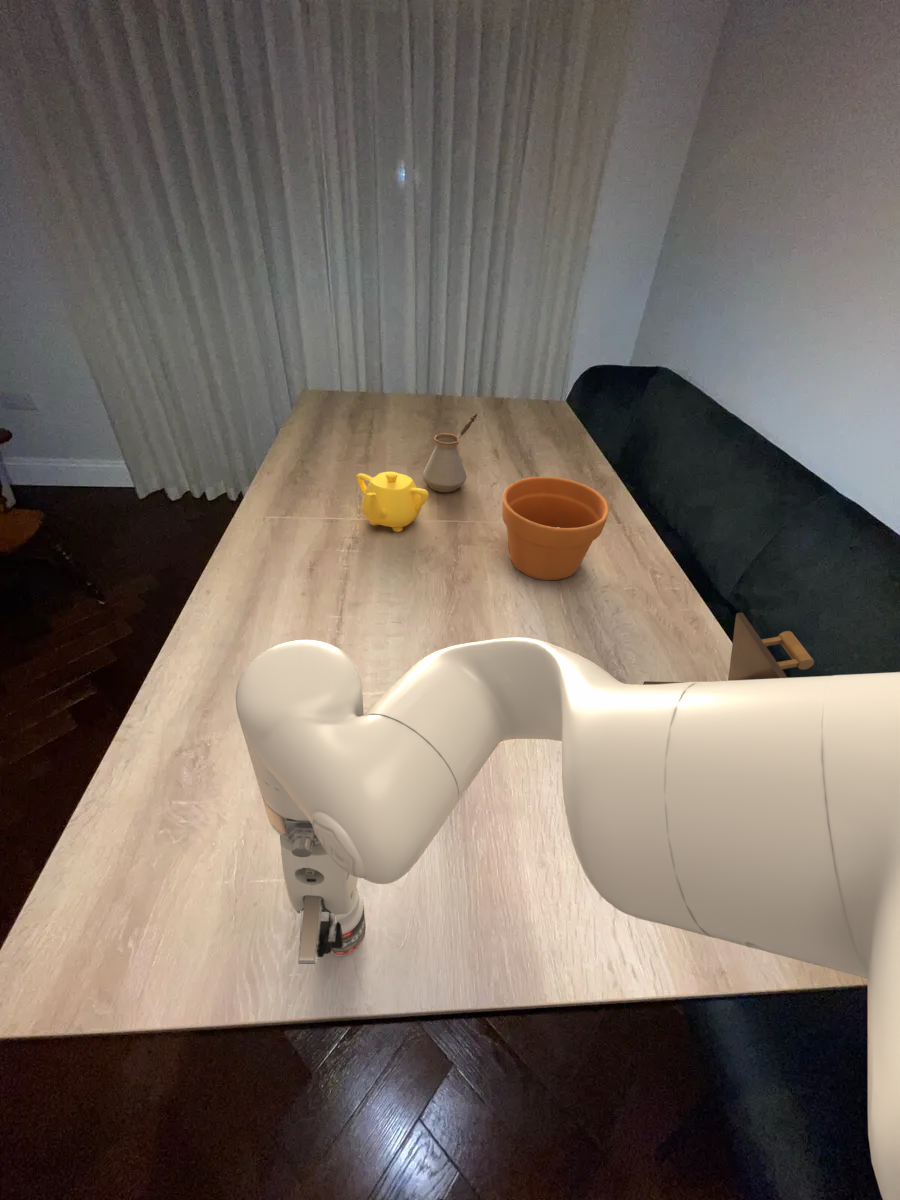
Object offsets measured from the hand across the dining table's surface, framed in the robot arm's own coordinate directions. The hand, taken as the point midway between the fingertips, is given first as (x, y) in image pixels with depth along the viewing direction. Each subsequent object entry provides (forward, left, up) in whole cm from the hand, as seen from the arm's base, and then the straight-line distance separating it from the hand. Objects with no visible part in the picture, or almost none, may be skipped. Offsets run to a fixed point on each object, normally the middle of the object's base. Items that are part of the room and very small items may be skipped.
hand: (333, 885), depth 50 cm
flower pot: (+34, -71, -11) cm, 79 cm away
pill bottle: (0, 0, -11) cm, 11 cm away
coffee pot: (+75, -81, -11) cm, 111 cm away
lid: (-14, -54, +4) cm, 56 cm away
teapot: (+66, -53, -11) cm, 85 cm away
